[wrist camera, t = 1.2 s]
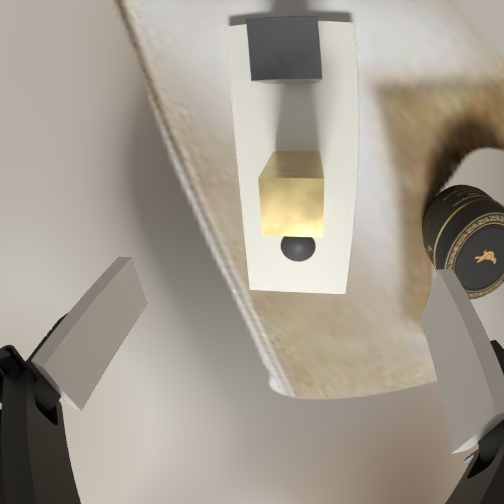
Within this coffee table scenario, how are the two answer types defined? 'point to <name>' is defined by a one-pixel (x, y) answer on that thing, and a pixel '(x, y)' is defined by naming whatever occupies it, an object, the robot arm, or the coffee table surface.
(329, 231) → the board
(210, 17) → the coffee table surface
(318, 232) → the block
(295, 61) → the fixed leg
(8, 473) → the robot arm
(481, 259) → the jar
